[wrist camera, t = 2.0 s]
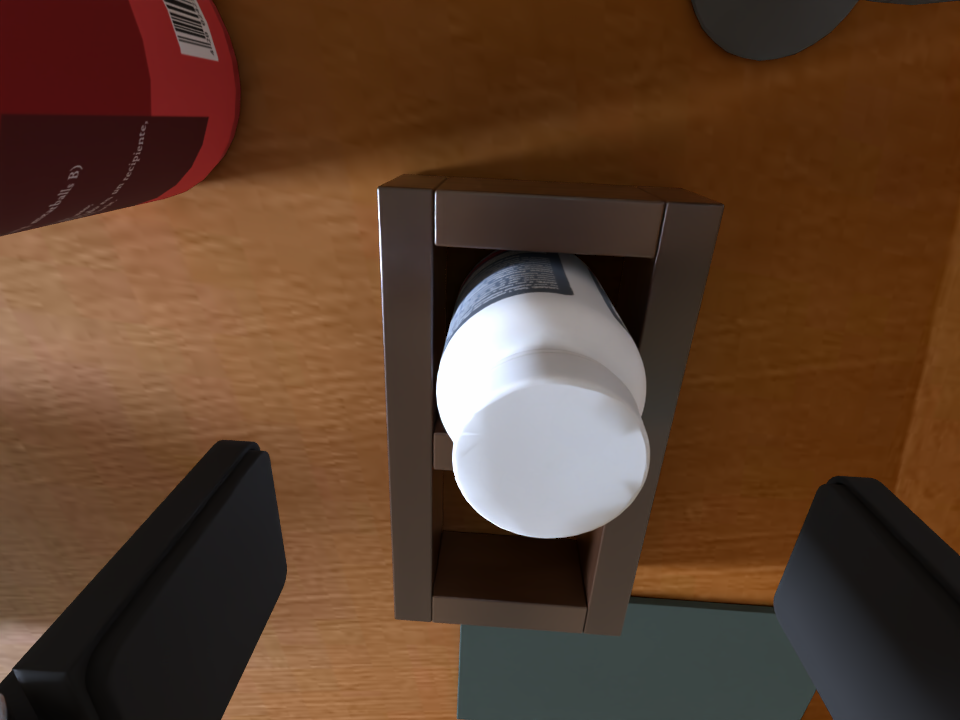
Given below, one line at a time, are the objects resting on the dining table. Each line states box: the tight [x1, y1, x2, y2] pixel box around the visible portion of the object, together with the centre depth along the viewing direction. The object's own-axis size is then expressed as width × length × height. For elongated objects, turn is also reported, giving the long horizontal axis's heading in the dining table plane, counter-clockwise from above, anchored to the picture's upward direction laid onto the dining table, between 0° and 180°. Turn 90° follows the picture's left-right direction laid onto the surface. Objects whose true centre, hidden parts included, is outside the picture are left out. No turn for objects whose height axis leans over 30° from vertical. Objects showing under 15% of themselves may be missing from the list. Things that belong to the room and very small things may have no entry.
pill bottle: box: [436, 250, 650, 538], centre depth 14 cm, size 5×5×9 cm
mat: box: [457, 597, 816, 720], centre depth 26 cm, size 18×10×1 cm, turn 88°
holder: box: [377, 174, 724, 636], centre depth 18 cm, size 9×16×4 cm, turn 178°
